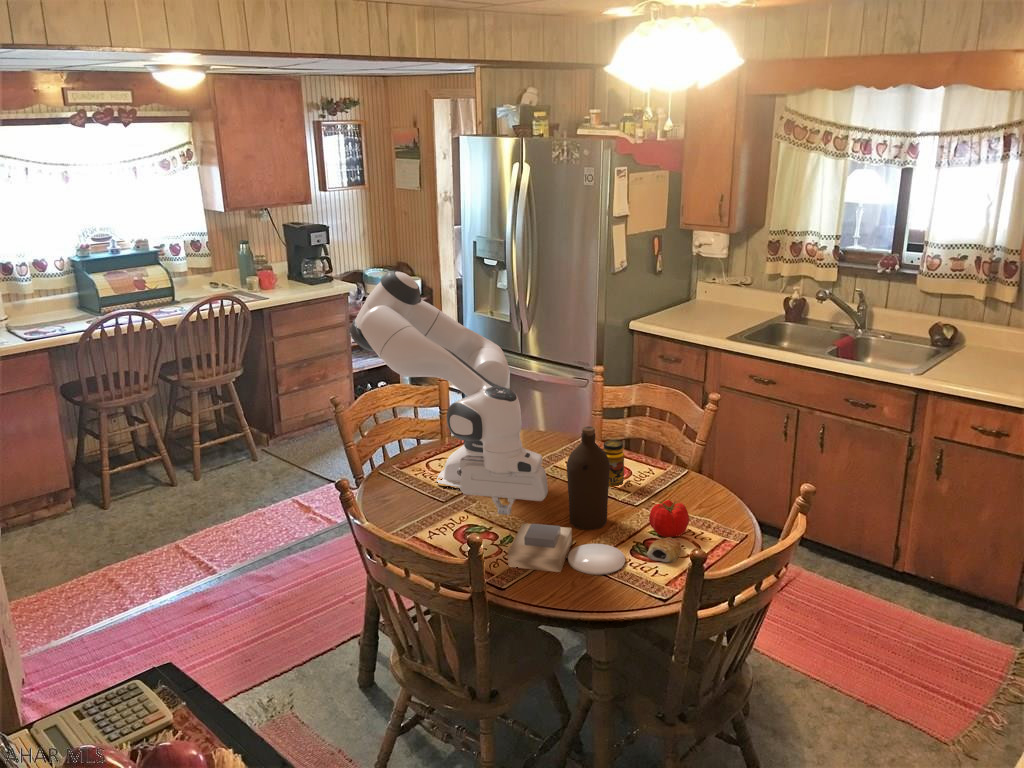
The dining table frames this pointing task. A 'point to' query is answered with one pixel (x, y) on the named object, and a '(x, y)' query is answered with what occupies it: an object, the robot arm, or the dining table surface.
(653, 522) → the tomato
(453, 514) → the dining table surface
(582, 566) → the plate
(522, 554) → the beige flat square block
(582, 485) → the olive oil
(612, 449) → the condiment
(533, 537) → the grey rounded eraser
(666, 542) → the pastry
